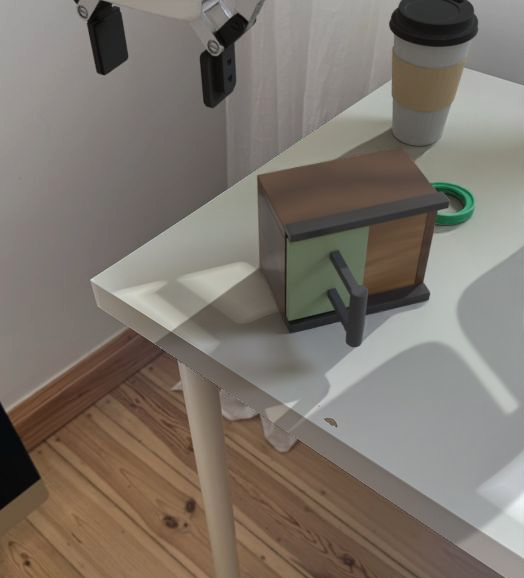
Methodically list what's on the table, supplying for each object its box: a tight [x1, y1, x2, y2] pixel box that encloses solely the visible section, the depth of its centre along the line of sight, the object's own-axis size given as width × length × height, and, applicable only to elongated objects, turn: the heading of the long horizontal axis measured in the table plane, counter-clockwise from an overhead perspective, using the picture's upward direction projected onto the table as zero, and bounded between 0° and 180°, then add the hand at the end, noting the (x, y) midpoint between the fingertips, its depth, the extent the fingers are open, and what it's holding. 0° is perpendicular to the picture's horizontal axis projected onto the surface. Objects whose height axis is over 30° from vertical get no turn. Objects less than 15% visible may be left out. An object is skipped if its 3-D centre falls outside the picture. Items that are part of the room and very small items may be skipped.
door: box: [286, 226, 369, 348], centre depth 62 cm, size 7×7×9 cm
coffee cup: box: [388, 0, 479, 147], centre depth 83 cm, size 9×9×15 cm
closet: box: [256, 145, 451, 334], centre depth 67 cm, size 10×14×12 cm
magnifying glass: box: [429, 181, 477, 226], centre depth 78 cm, size 15×6×2 cm, turn 84°
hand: (164, 82), depth 54 cm, fingers open, 9 cm apart
